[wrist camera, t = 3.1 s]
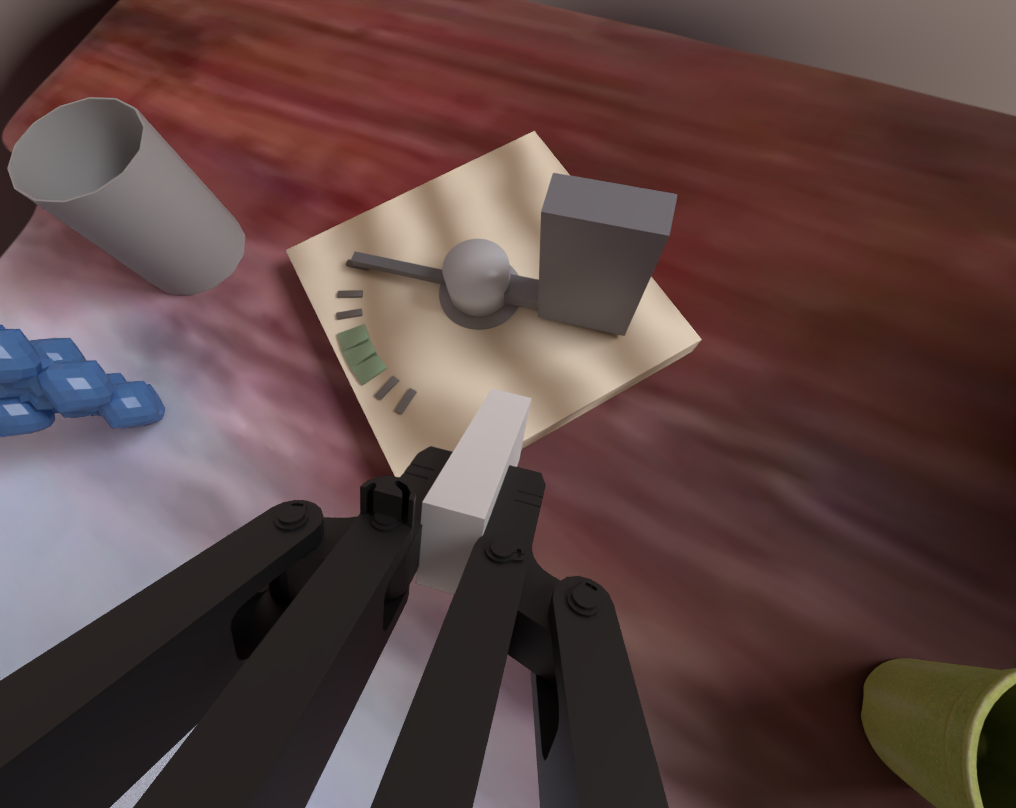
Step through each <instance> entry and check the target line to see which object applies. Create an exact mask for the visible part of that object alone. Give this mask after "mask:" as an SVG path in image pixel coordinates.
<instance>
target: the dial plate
mask: <svg viewBox="0 0 1016 808" xmlns="http://www.w3.org/2000/svg"><path fill="white" fill-rule="evenodd" d="M553 173H558V174H564V175H569V174H568V172H567V171H566V170H565V169H564V167H563V166H562V165H561V164H560V162H559V161H558V160H557V159H556V157H555V156H554V155H553V154H552V152H551V151H550V150H549V149H548V147H547V146H546V145H545V144H544V142H543V141H542V140H541V139H540V137H539V136H538V135H537V134H536V133H535V131H533V132H531V133H529V134H527V135H525V136H523V137H521V138H519V139H517V140H515V141H513V142H510V143H508V144H506V145H504V146H502V147H500V148H498V149H496V150H494V151H492V152H490V153H488V154H485V155H483V156H481V157H479V158H477V159H475V160H473V161H471V162H469V163H467V164H465V165H462V166H460V167H458V168H456V169H454V170H452V171H450V172H448V173H446V174H444V175H442V176H440V177H437V178H435V179H433V180H431V181H429V182H427V183H425V184H423V185H421V186H419V187H417V188H414V189H412V190H410V191H408V192H406V193H404V194H402V195H400V196H398V197H396V198H394V199H392V200H389V201H387V202H385V203H383V204H381V205H379V206H377V207H375V208H373V209H371V210H369V211H366V212H364V213H362V214H360V215H358V216H356V217H354V218H352V219H350V220H348V221H346V222H344V223H341V224H339V225H337V226H335V227H333V228H331V229H329V230H327V231H325V232H323V233H321V234H318V235H316V236H314V237H312V238H310V239H308V240H306V241H304V242H302V243H300V244H298V245H296V246H293V247H291V248H289V249H287V250H286V252H287V254H288V256H289V258H290V260H291V262H292V264H293V266H294V268H295V270H296V273H297V275H298V277H299V279H300V281H301V283H302V285H303V287H304V289H305V291H306V293H307V295H308V297H309V299H310V301H311V304H312V306H313V308H314V310H315V312H316V314H317V316H318V318H319V320H320V322H321V324H322V326H323V328H324V330H325V333H326V335H327V337H328V339H329V341H330V343H331V345H332V347H333V349H334V351H335V353H336V355H337V357H338V359H339V362H340V364H341V366H342V368H343V370H344V372H345V374H346V376H347V378H348V380H349V382H350V384H351V386H352V388H353V390H354V393H355V395H356V397H357V399H358V401H359V403H360V405H361V407H362V409H363V411H364V413H365V415H366V417H367V419H368V422H369V424H370V426H371V428H372V430H373V432H374V434H375V436H376V438H377V440H378V442H379V444H380V446H381V448H382V451H383V453H384V455H385V457H386V459H387V461H388V463H389V465H390V467H391V469H392V471H393V473H394V475H395V477H400V476H401V475H402V474H404V471H405V470H406V468H407V467H408V466H409V465H410V463H411V462H412V460H413V459H414V458H415V456H416V455H417V453H419V452H421V451H422V450H424V449H426V448H428V447H430V446H433V447H437V448H440V449H444V450H448V451H452V452H453V451H454V449H455V448H456V446H457V444H458V443H459V441H460V439H461V438H462V436H463V434H464V433H465V431H466V430H467V428H468V426H469V425H470V423H471V421H472V420H473V418H474V416H475V415H476V413H477V411H478V410H479V408H480V406H481V405H482V403H483V402H484V400H485V398H486V397H487V395H488V393H489V392H490V390H491V389H496V390H500V391H504V392H508V393H513V394H517V395H521V396H525V397H529V398H532V399H531V404H530V409H529V414H528V419H527V424H526V429H525V433H524V438H523V443H522V448H521V449H523V448H525V447H526V446H528V445H530V444H532V443H533V442H535V441H537V440H539V439H540V438H542V437H544V436H546V435H547V434H549V433H551V432H553V431H554V430H556V429H558V428H560V427H561V426H563V425H565V424H566V423H568V422H570V421H572V420H573V419H575V418H577V417H579V416H580V415H582V414H584V413H586V412H587V411H589V410H591V409H593V408H594V407H596V406H598V405H600V404H601V403H603V402H605V401H607V400H608V399H610V398H612V397H614V396H615V395H617V394H619V393H621V392H622V391H624V390H626V389H628V388H629V387H631V386H633V385H635V384H636V383H638V382H640V381H642V380H643V379H645V378H647V377H649V376H650V375H652V374H654V373H656V372H657V371H659V370H661V369H663V368H664V367H666V366H668V365H670V364H671V363H673V362H675V361H677V360H678V359H680V358H682V357H684V356H685V355H687V354H689V353H691V352H692V351H693V349H694V348H695V347H696V346H697V345H698V343H699V342H700V341H701V340H702V339H701V338H700V337H699V336H698V335H697V333H696V332H695V331H694V330H693V328H692V327H691V326H690V325H689V323H688V322H687V321H686V320H685V318H684V317H683V316H682V315H681V313H680V312H679V311H678V310H677V308H676V307H675V306H674V305H673V303H672V302H671V301H670V300H669V298H668V297H667V296H666V295H665V293H664V292H663V291H662V290H661V288H660V287H659V286H658V285H657V283H656V282H655V281H654V280H653V278H652V277H651V278H650V280H649V282H648V285H647V287H646V289H645V291H644V294H643V296H642V298H641V300H640V303H639V305H638V307H637V309H636V312H635V314H634V316H633V318H632V321H631V323H630V325H629V327H628V329H627V332H626V334H625V336H622V335H617V334H613V333H608V332H603V331H599V330H594V329H590V328H585V327H581V326H576V325H571V324H567V323H562V322H558V321H553V320H549V319H544V318H539V317H538V310H534V309H529V308H525V307H520V306H515V305H511V304H505V305H504V306H503V307H502V308H501V309H500V310H499V311H497V312H495V313H493V314H491V315H487V316H481V317H477V316H470V315H467V314H465V313H463V312H461V311H460V310H458V309H457V308H456V307H455V306H454V304H453V303H452V301H451V298H450V295H449V292H448V289H447V286H446V285H442V284H438V283H433V282H428V281H424V280H419V279H414V278H410V277H405V276H400V275H396V274H391V273H386V272H382V271H377V270H373V269H368V268H363V267H359V266H354V265H353V263H352V262H351V258H352V256H353V254H354V252H355V251H356V252H361V253H366V254H370V255H375V256H380V257H385V258H389V259H394V260H399V261H404V262H408V263H413V264H418V265H423V266H427V267H432V268H437V269H442V266H443V262H444V259H445V257H446V255H447V253H448V252H449V251H450V250H451V249H452V248H453V247H454V246H456V245H457V244H459V243H461V242H463V241H466V240H470V239H486V240H489V241H492V242H494V243H496V244H498V245H499V246H500V247H501V248H502V249H503V250H504V251H505V253H506V254H507V256H508V259H509V266H510V274H514V275H519V276H524V277H528V278H533V279H538V280H539V259H540V227H541V210H542V207H543V204H544V200H545V197H546V194H547V191H548V187H549V184H550V181H551V177H552V174H553ZM569 176H570V175H569Z"/></svg>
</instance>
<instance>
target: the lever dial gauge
mask: <svg viewBox="0 0 1016 808" xmlns="http://www.w3.org/2000/svg"><path fill="white" fill-rule="evenodd" d="M676 199H677V194H672V193H666V192H661V191H655V190H649V189H644V188H638V187H632V186H627V185H621V184H615V183H609V182H604V181H598V180H592V179H587V178H581V177H575V176H569V175H564V174H558V173H553V174H552V177H551V181H550V184H549V187H548V191H547V194H546V197H545V200H544V204H543V207H542V210H541V227H540V259H539V280H538V279H533V278H528V277H524V276H519V275H514V274H510V266H509V259H508V256H507V254H506V253H505V251H504V250H503V249H502V248H501V247H500V246H499V245H498V244H496V243H494V242H492V241H489V240H486V239H470V240H466V241H463V242H461V243H459V244H457V245H456V246H454V247H453V248H452V249H451V250H450V251H449V252H448V253H447V255H446V257H445V259H444V262H443V266H442V269H437V268H432V267H427V266H423V265H418V264H413V263H408V262H404V261H399V260H394V259H389V258H385V257H380V256H375V255H370V254H366V253H361V252H356V251H355V252H354V254H353V256H352V258H351V262H352V263H353V265H354V266H359V267H363V268H368V269H373V270H377V271H382V272H386V273H391V274H396V275H400V276H405V277H410V278H414V279H419V280H424V281H428V282H433V283H438V284H442V285H446V286H447V289H448V292H449V295H450V298H451V301H452V303H453V304H454V306H455V307H456V308H457V309H458V310H460V311H461V312H463V313H465V314H467V315H470V316H477V317H481V316H487V315H491V314H493V313H495V312H497V311H499V310H500V309H501V308H502V307H503V306H504V305H505V304H511V305H515V306H520V307H525V308H529V309H534V310H538V317H539V318H544V319H549V320H553V321H558V322H562V323H567V324H571V325H576V326H581V327H585V328H590V329H594V330H599V331H603V332H608V333H613V334H617V335H622V336H625V334H626V332H627V329H628V327H629V325H630V323H631V321H632V318H633V316H634V314H635V312H636V309H637V307H638V305H639V303H640V300H641V298H642V296H643V294H644V291H645V289H646V287H647V285H648V282H649V280H650V278H651V276H652V274H653V271H654V269H655V267H656V265H657V262H658V260H659V258H660V256H661V253H662V251H663V249H664V247H665V244H666V242H667V240H668V238H669V235H670V230H671V225H672V220H673V215H674V210H675V205H676Z"/></svg>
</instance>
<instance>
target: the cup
mask: <svg viewBox="0 0 1016 808" xmlns="http://www.w3.org/2000/svg"><path fill="white" fill-rule="evenodd" d="M8 171H9V174H10V177H11V180H12V183H13V186H14V189H16V190H17V191H19V192H20V193H21V194H23V195H24V196H26V197H27V198H29V199H30V200H32V201H33V202H34V203H36V204H37V205H39V206H40V207H42V208H43V209H44V210H46V211H47V212H49V213H50V214H52V215H53V216H55V217H56V218H57V219H59V220H60V221H62V222H63V223H65V224H66V225H68V226H69V227H70V228H72V229H73V230H75V231H76V232H78V233H79V234H81V235H82V236H83V237H85V238H86V239H88V240H89V241H91V242H92V243H93V244H95V245H96V246H98V247H99V248H101V249H102V250H104V251H105V252H106V253H108V254H109V255H111V256H112V257H114V258H115V259H117V260H118V261H119V262H121V263H122V264H124V265H125V266H127V267H128V268H129V269H131V270H132V271H134V272H135V273H137V274H138V275H140V276H141V277H142V278H144V279H145V280H147V281H148V282H150V283H151V284H153V285H154V286H156V287H157V288H159V289H161V290H162V291H164V292H165V293H167V294H172V295H187V296H191V295H194V294H197V293H200V292H203V291H206V290H209V289H212V288H214V287H215V286H217V285H218V284H219V283H221V282H222V281H223V280H224V279H226V278H227V277H228V276H230V275H231V274H232V273H233V272H234V270H235V268H236V267H237V265H238V263H239V262H240V260H241V258H242V257H243V255H244V246H245V234H244V232H243V230H242V229H241V227H240V225H239V223H238V221H237V220H236V219H235V218H234V217H233V215H232V214H231V213H230V212H229V211H228V210H227V209H226V208H225V206H224V205H223V204H222V203H221V202H220V201H219V200H218V199H217V198H216V196H215V195H214V194H213V193H212V192H211V191H210V190H209V189H208V188H207V186H206V185H205V184H204V183H203V182H202V181H201V180H200V179H199V178H198V176H197V175H196V174H195V173H194V172H193V171H192V170H191V169H190V168H189V166H188V165H187V164H186V163H185V162H184V161H183V160H182V159H181V158H180V156H179V155H178V154H177V153H176V152H175V151H174V150H173V149H172V148H171V146H170V145H169V144H168V143H167V142H166V141H165V140H164V139H163V138H162V136H161V135H160V134H159V133H158V132H157V131H156V130H155V129H154V128H153V126H152V125H151V124H150V123H149V122H148V121H147V120H146V119H145V118H144V116H143V115H142V114H141V113H140V112H139V111H138V110H137V109H136V108H134V107H133V106H131V105H129V104H127V103H125V102H123V101H121V100H119V99H117V98H92V97H89V98H86V99H82V100H79V101H75V102H72V103H69V104H65V105H62V106H59V107H58V108H56V109H54V110H53V111H51V112H50V113H48V114H47V115H45V116H43V117H42V118H40V119H39V120H37V121H35V122H34V123H33V124H32V125H31V126H30V127H29V129H28V130H27V131H26V132H25V133H24V134H23V136H22V137H21V138H20V139H19V140H18V141H17V143H16V144H15V145H14V149H13V152H12V155H11V158H10V162H9V165H8Z"/></svg>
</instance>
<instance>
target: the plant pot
mask: <svg viewBox="0 0 1016 808" xmlns="http://www.w3.org/2000/svg"><path fill="white" fill-rule="evenodd" d="M863 689H864V697H863V705H862V712H861V720H862V724H863V727H864V730H865V733H866V736H867V738H868V740H869V742H870V744H871V745H872V747H873V749H874V750H875V752H876V753H877V755H878V756H879V757H880V758H881V760H882V761H883V762H884V763H885V764H886V765H887V766H888V767H889V768H890V769H891V770H892V771H893V772H894V773H895V774H897V775H898V776H899V777H900V778H901V779H902V780H904V781H905V782H906V783H907V784H908V785H909V786H911V787H912V788H913V789H914V790H916V791H917V792H918V793H919V794H920V795H921V796H923V797H924V798H925V799H926V800H927V801H929V802H930V803H931V804H932V805H933V806H935V807H936V808H1016V668H1012V669H1005V670H996V669H989V668H981V667H973V666H964V665H956V664H949V663H941V662H933V661H926V660H918V659H908V658H900V659H894V660H890V661H887V662H884V663H882V664H881V665H879V666H878V667H876V668H875V669H874V670H873V671H872V672H871V673H870V674H869V676H868V677H867V679H866V681H865V683H864V686H863Z"/></svg>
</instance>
